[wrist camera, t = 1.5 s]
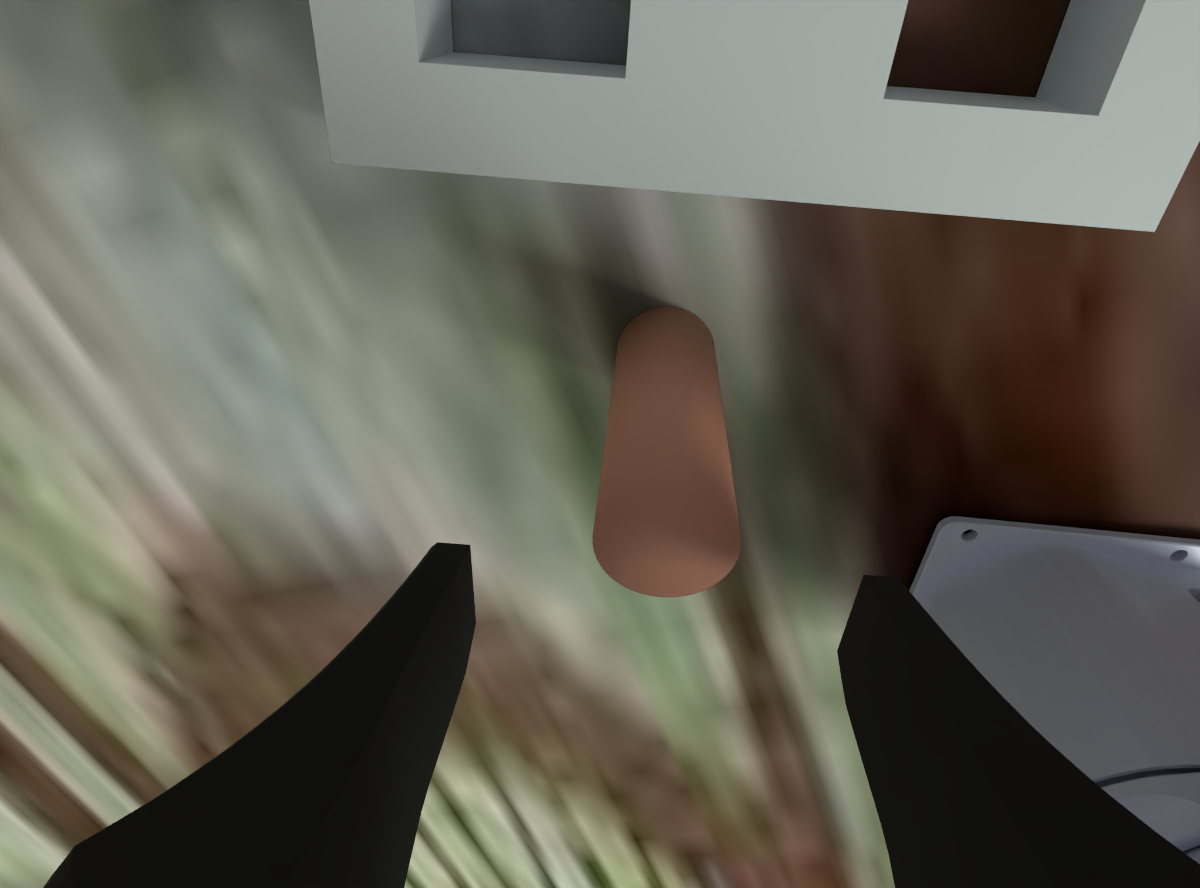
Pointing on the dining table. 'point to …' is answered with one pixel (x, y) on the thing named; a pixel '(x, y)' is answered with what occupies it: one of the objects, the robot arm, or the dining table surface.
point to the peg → (666, 462)
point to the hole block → (779, 109)
